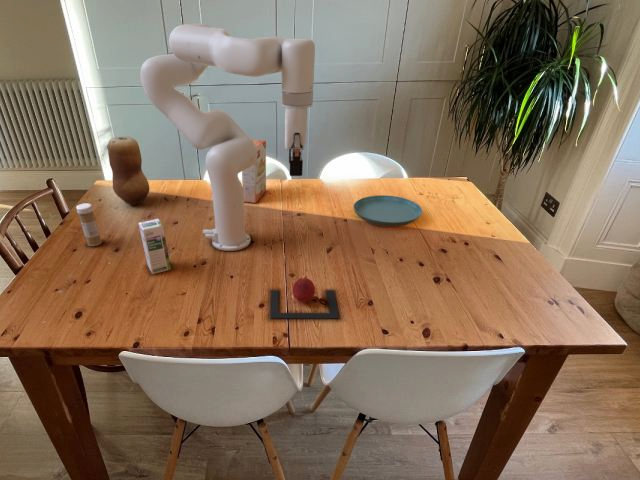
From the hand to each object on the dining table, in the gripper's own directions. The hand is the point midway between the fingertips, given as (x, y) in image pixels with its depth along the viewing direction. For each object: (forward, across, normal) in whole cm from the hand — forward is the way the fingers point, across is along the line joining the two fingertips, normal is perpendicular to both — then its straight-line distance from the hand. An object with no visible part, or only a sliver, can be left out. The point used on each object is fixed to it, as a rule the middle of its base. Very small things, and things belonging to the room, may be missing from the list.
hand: (295, 169), depth 108 cm
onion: (+28, +21, +2) cm, 35 cm away
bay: (+28, +21, +2) cm, 35 cm away
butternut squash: (+29, -45, -62) cm, 82 cm away
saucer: (+28, -32, +35) cm, 55 cm away
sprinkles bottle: (+29, -11, -65) cm, 72 cm away
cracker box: (+28, -51, -14) cm, 60 cm away
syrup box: (+28, +4, -40) cm, 49 cm away
